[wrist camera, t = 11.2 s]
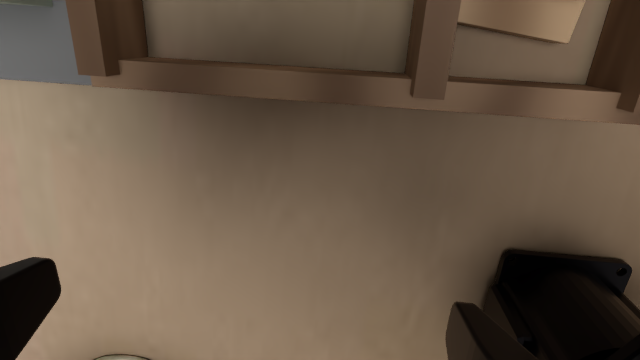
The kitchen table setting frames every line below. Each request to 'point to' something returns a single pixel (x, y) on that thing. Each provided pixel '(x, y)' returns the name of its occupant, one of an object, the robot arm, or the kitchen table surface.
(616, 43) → the rack
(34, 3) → the pale green block
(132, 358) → the coffee can
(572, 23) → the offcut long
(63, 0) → the mat
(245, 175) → the kitchen table surface
